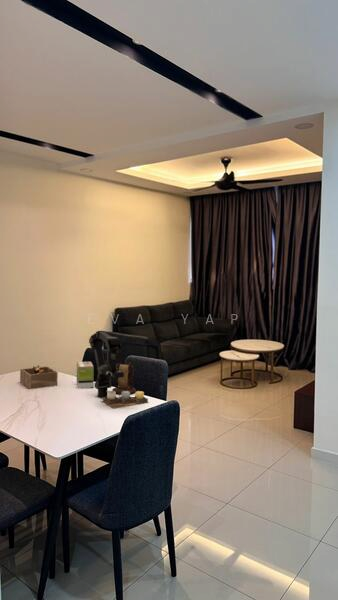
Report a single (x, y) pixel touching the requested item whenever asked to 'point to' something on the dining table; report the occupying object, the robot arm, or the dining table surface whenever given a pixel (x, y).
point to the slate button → (125, 395)
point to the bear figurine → (38, 370)
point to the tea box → (85, 374)
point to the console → (123, 402)
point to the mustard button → (139, 395)
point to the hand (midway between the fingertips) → (111, 386)
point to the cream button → (111, 395)
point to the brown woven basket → (124, 379)
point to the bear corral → (38, 378)
